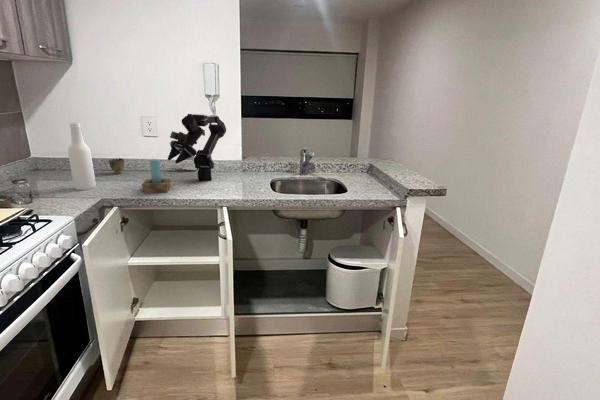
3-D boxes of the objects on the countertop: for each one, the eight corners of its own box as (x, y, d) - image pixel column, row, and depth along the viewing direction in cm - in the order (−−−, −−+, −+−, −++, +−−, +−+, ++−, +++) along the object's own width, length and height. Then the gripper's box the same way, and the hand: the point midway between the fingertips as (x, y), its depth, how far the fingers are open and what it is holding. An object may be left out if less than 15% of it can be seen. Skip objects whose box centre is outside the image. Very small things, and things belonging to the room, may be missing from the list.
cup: (108, 173, 191) (106, 159, 189) (122, 171, 197) (120, 157, 194) (113, 175, 187) (111, 161, 184) (127, 173, 192) (125, 159, 189)
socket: (170, 186, 169) (170, 178, 168) (167, 192, 159) (166, 183, 158) (147, 186, 167) (146, 178, 166) (142, 192, 157) (141, 184, 156)
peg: (162, 188, 165) (159, 159, 161) (161, 190, 162) (158, 161, 158) (153, 188, 165) (150, 159, 161) (152, 190, 161) (148, 161, 157)
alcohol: (100, 186, 166) (90, 122, 157) (88, 190, 158) (77, 124, 149) (82, 185, 167) (72, 121, 158) (69, 190, 158) (58, 123, 149)
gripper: (172, 123, 170) (151, 147, 166) (188, 127, 156) (166, 153, 153) (188, 138, 177) (169, 162, 173) (205, 143, 164) (184, 168, 160)
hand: (171, 161), depth 165 cm, fingers open, 9 cm apart
